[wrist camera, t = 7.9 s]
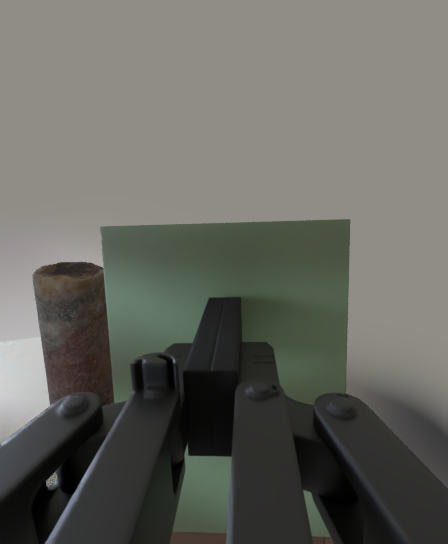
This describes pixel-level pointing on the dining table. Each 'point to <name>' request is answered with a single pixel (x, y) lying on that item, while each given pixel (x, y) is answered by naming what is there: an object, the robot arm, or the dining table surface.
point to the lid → (255, 318)
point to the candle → (74, 329)
